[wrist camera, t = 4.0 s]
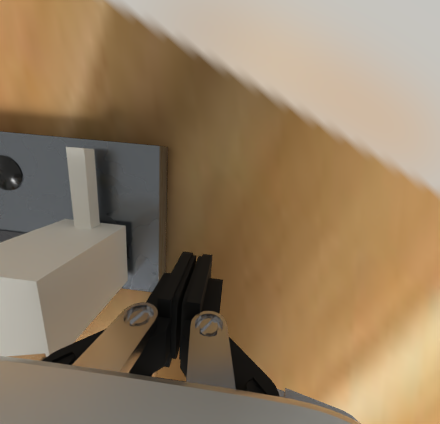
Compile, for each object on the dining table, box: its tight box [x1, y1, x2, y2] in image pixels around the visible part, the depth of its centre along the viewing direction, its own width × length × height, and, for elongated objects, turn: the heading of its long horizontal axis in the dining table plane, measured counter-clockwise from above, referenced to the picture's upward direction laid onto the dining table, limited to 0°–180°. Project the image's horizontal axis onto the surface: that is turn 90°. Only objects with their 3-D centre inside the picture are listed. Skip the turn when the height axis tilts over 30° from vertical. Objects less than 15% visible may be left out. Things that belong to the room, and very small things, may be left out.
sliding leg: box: [0, 147, 128, 357], centre depth 10 cm, size 8×4×6 cm, turn 175°
